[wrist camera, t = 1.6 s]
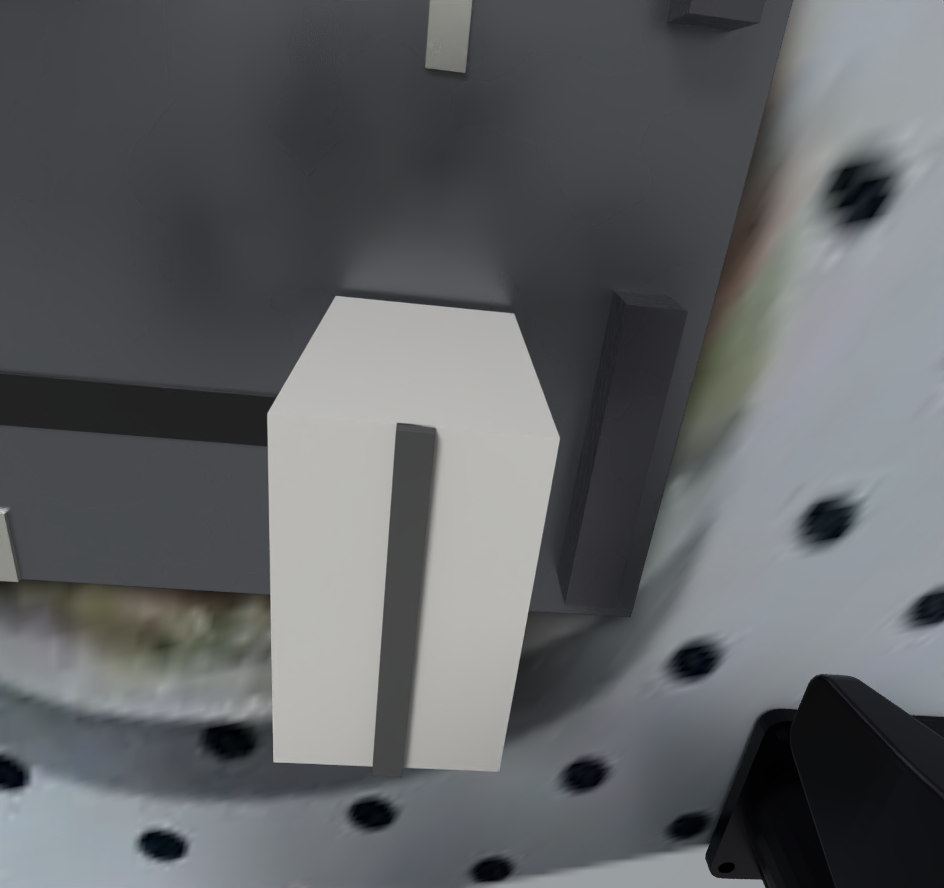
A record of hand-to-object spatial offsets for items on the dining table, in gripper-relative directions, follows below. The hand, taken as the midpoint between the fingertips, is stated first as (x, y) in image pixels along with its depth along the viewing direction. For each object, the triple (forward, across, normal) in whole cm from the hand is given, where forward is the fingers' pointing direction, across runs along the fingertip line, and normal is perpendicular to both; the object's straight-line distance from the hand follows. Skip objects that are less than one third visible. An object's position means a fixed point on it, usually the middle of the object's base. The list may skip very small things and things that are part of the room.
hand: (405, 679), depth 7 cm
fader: (+6, 0, 0) cm, 6 cm away
